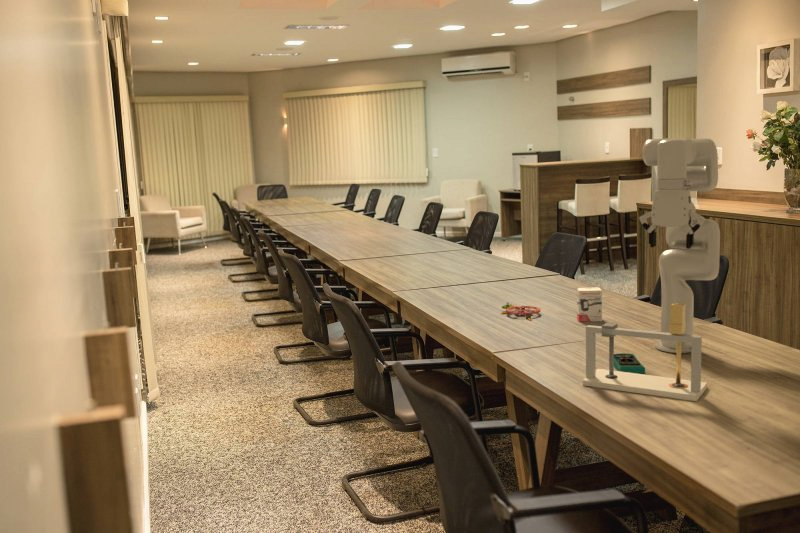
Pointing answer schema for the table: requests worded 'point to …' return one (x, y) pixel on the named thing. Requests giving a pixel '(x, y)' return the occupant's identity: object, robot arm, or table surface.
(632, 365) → the digital multimeter
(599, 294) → the ink box
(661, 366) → the table surface
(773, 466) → the table surface
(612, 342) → the white rack frame
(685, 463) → the table surface
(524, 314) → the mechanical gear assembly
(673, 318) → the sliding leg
